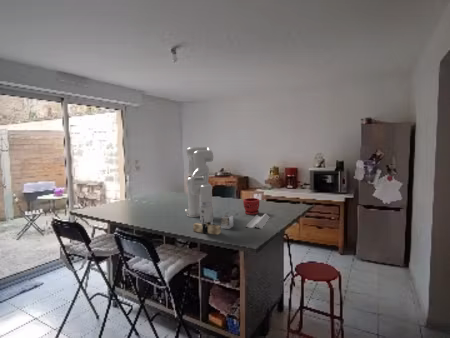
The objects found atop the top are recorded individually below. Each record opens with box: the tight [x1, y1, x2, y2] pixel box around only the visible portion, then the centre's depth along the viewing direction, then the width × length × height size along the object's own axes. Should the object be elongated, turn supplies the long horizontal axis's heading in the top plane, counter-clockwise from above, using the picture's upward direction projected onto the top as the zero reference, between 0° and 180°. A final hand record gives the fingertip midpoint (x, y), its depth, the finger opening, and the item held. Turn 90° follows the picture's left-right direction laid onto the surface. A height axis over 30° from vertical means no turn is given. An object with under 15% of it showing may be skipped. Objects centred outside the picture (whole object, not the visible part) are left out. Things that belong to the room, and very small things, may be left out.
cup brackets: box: [199, 214, 234, 230], centre depth 195 cm, size 22×8×8 cm, turn 66°
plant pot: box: [242, 197, 260, 216], centre depth 230 cm, size 13×13×12 cm
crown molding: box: [244, 213, 271, 229], centre depth 203 cm, size 31×12×4 cm, turn 160°
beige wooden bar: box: [192, 222, 222, 236], centre depth 181 cm, size 18×4×5 cm, turn 64°
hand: (206, 231), depth 181 cm, fingers closed on beige wooden bar, 4 cm apart
